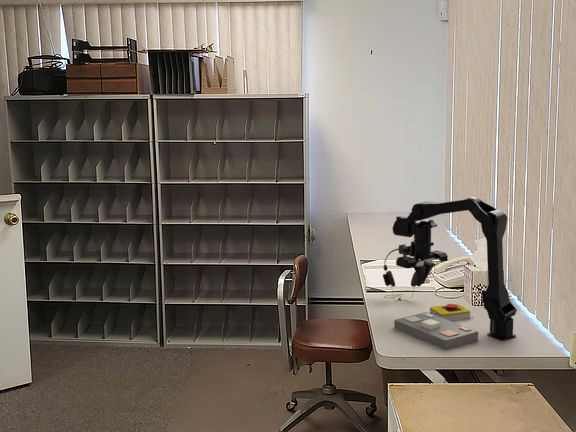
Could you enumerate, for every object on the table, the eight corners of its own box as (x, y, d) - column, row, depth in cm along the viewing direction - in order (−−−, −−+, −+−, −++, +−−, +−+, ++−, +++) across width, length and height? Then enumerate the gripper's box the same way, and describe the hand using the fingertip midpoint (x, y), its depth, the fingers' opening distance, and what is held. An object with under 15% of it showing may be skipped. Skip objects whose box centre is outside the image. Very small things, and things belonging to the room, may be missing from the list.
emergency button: (475, 307, 227) (436, 311, 223) (475, 319, 228) (435, 324, 224) (461, 299, 236) (423, 304, 232) (461, 311, 236) (422, 316, 232)
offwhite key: (440, 328, 211) (440, 322, 210) (430, 331, 208) (430, 325, 208) (430, 324, 214) (430, 319, 214) (420, 327, 212) (421, 321, 212)
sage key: (422, 325, 218) (422, 319, 217) (412, 327, 215) (412, 321, 215) (413, 321, 221) (413, 316, 221) (404, 324, 219) (404, 318, 219)
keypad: (478, 340, 207) (478, 330, 206) (445, 349, 199) (445, 339, 199) (425, 320, 226) (426, 311, 226) (394, 328, 219) (394, 318, 218)
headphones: (421, 294, 256) (422, 244, 252) (424, 303, 245) (425, 250, 241) (381, 294, 257) (382, 243, 254) (382, 303, 246) (383, 250, 243)
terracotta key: (458, 339, 204) (458, 333, 204) (448, 342, 202) (448, 336, 202) (448, 335, 208) (448, 329, 207) (438, 338, 205) (438, 332, 205)
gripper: (426, 232, 236) (425, 274, 239) (385, 238, 227) (385, 282, 229) (449, 237, 227) (448, 281, 230) (407, 244, 217) (407, 290, 220)
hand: (421, 283), depth 227 cm, fingers closed
